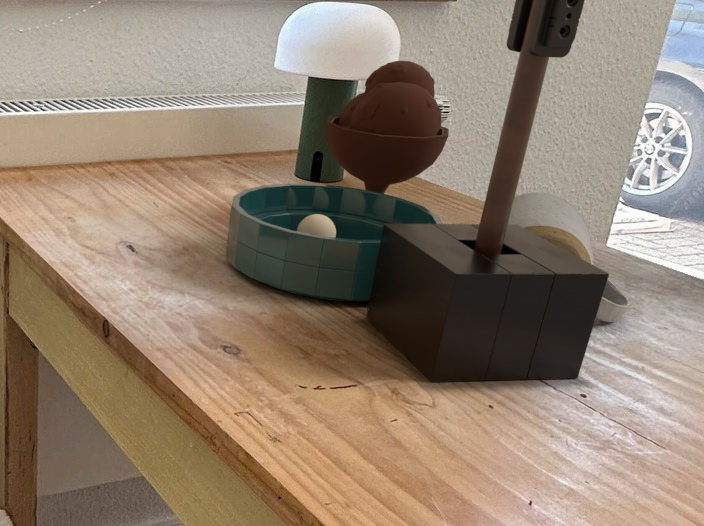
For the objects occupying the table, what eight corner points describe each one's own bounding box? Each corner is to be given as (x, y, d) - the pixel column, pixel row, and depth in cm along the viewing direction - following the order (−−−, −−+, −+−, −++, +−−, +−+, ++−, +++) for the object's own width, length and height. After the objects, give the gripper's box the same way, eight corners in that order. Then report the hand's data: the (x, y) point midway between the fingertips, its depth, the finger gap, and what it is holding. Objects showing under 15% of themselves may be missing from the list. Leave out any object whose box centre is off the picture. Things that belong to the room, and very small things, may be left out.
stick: (488, 261, 57) (562, -41, 50) (502, 269, 56) (579, -40, 48) (465, 261, 57) (536, -42, 49) (478, 269, 55) (553, -41, 48)
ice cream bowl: (301, 206, 88) (323, 51, 82) (412, 213, 88) (443, 58, 82) (320, 239, 79) (348, 66, 73) (445, 246, 79) (483, 73, 72)
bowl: (377, 238, 80) (387, 184, 78) (468, 306, 65) (484, 242, 63) (204, 238, 78) (209, 182, 75) (259, 308, 63) (268, 242, 61)
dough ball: (326, 247, 75) (350, 227, 72) (309, 266, 73) (333, 246, 71) (300, 221, 75) (322, 200, 73) (282, 239, 73) (305, 218, 71)
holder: (493, 316, 64) (516, 224, 61) (578, 378, 55) (610, 273, 52) (365, 318, 62) (383, 223, 59) (431, 382, 53) (456, 274, 51)
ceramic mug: (471, 312, 64) (497, 210, 61) (469, 276, 71) (493, 184, 68) (632, 341, 61) (669, 235, 58) (613, 301, 68) (645, 205, 65)
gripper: (807, -340, 38) (679, 73, 45) (602, -274, 50) (527, 43, 58) (652, -358, 37) (546, 68, 44) (481, -286, 49) (420, 38, 56)
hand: (535, 52), depth 51 cm, fingers closed on stick, 1 cm apart
